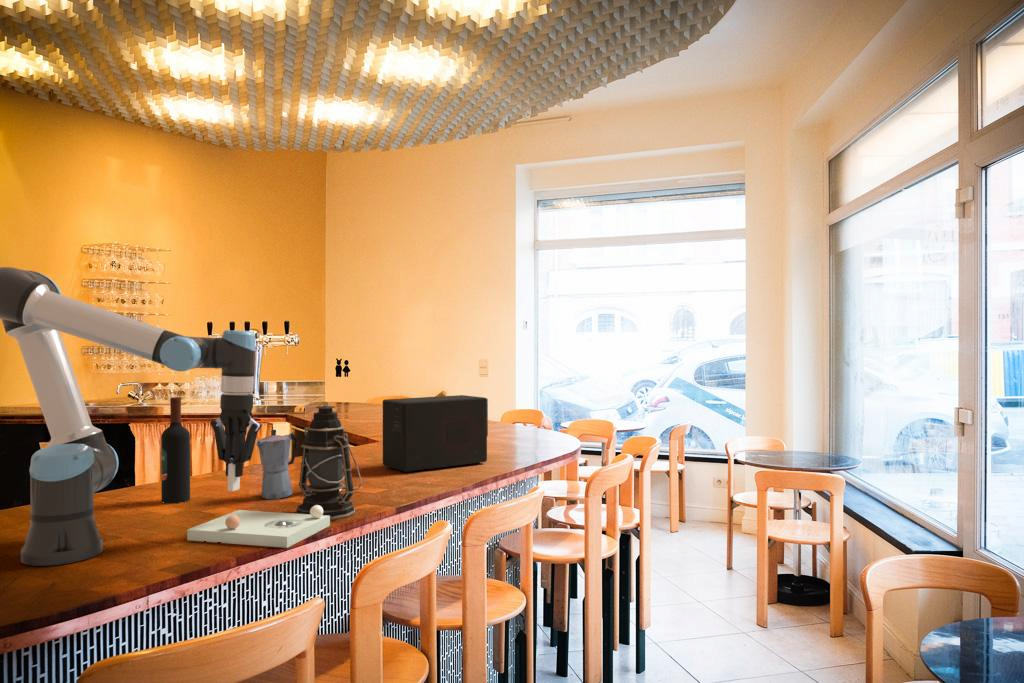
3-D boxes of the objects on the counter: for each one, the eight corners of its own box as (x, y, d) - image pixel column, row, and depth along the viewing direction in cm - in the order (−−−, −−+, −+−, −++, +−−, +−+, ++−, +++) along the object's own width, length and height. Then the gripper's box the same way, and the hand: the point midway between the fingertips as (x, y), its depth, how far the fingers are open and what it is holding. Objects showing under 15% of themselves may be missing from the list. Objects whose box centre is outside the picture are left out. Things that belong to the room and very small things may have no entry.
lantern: (276, 515, 194) (276, 402, 194) (321, 503, 208) (321, 398, 208) (330, 525, 184) (330, 406, 184) (374, 512, 197) (373, 401, 197)
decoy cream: (319, 520, 179) (319, 507, 179) (307, 519, 180) (307, 506, 180) (325, 516, 182) (325, 504, 182) (314, 516, 183) (314, 503, 183)
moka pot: (245, 499, 214) (245, 431, 214) (284, 489, 227) (284, 425, 227) (269, 502, 209) (269, 433, 209) (307, 492, 223) (307, 427, 223)
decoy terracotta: (234, 531, 169) (234, 517, 169) (222, 530, 170) (222, 516, 169) (242, 527, 172) (242, 514, 172) (230, 526, 173) (230, 513, 173)
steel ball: (272, 536, 174) (286, 537, 175) (272, 527, 173) (286, 527, 173) (275, 527, 177) (289, 528, 178) (275, 517, 176) (289, 518, 176)
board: (287, 547, 164) (287, 536, 164) (187, 540, 170) (187, 529, 170) (329, 525, 183) (329, 515, 183) (238, 519, 190) (238, 509, 190)
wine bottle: (179, 504, 207) (178, 398, 207) (155, 503, 209) (155, 398, 208) (195, 498, 214) (195, 396, 214) (172, 497, 216) (172, 396, 216)
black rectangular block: (463, 456, 290) (463, 394, 290) (492, 463, 275) (491, 397, 274) (377, 466, 268) (377, 398, 268) (403, 474, 252) (403, 402, 252)
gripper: (269, 393, 180) (265, 489, 180) (223, 391, 183) (220, 485, 183) (251, 395, 173) (247, 495, 173) (204, 392, 176) (200, 490, 176)
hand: (233, 489), depth 178 cm, fingers closed
